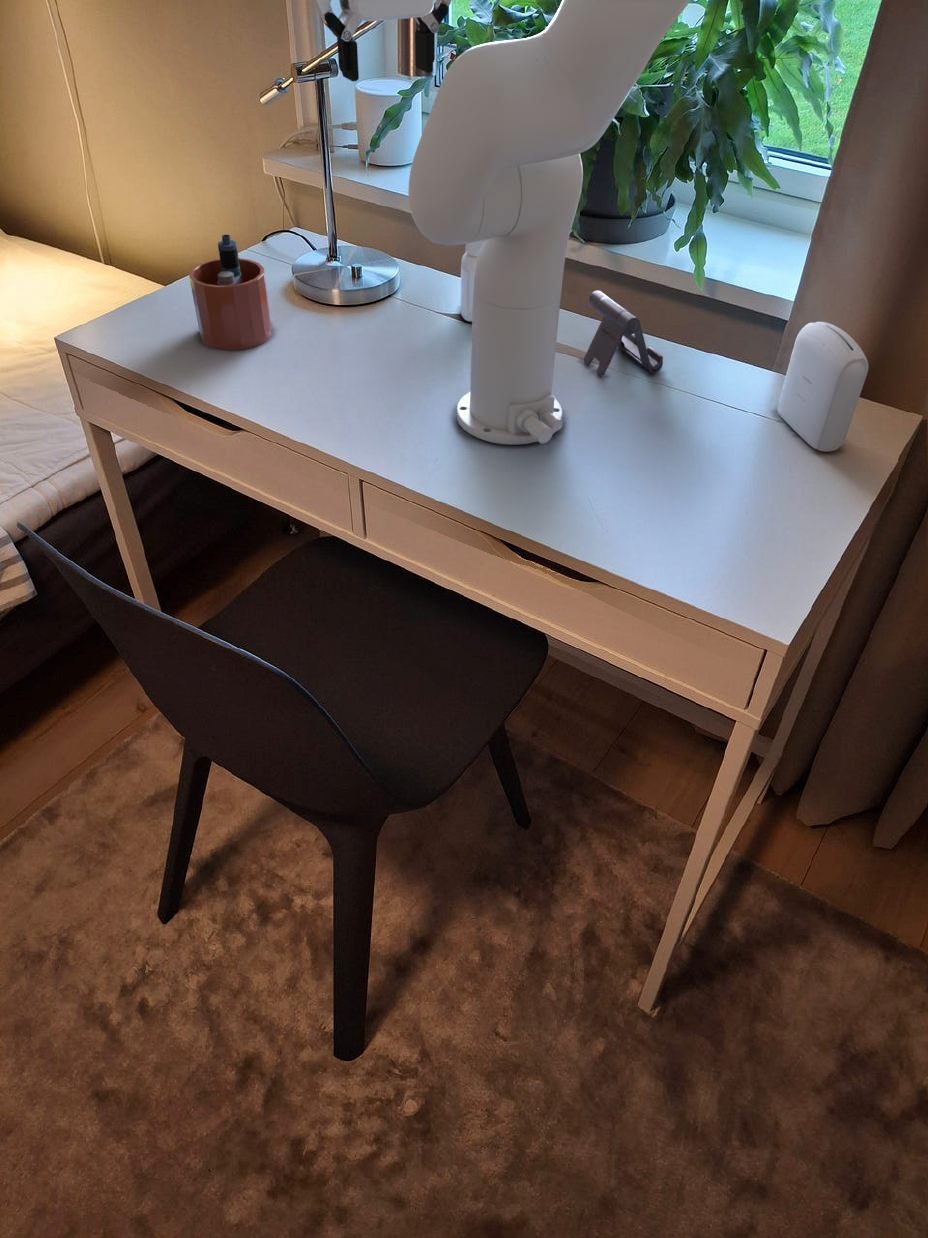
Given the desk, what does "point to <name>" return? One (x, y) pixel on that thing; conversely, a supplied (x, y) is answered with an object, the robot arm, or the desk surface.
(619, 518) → the desk surface
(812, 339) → the photo printer
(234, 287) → the pen cup
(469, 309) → the eye dropper bottle
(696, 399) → the desk surface
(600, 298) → the tablet stand
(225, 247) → the vaping device
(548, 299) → the robot arm
